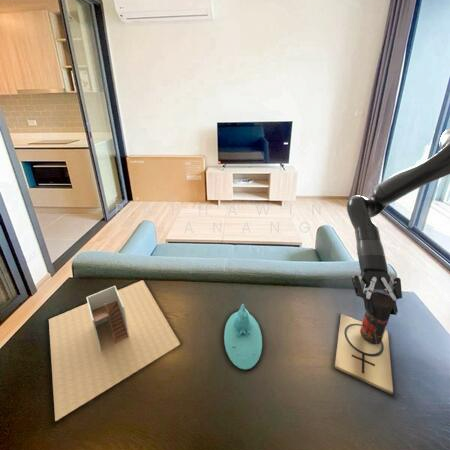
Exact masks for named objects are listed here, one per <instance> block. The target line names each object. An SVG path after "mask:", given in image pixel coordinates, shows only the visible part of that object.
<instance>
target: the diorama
mask: <svg viewBox="0 0 450 450" xmlns="http://www.w3.org/2000/svg"><path fill="white" fill-rule="evenodd" d="M223 333H224V334H223V340H224V347H225V352H226V355H227V356H228V358H229V360H230V361H231V362H232V364H233V365H234V366H235V367H237V368H238V369H240V370H245V371H246V370H250V369H252V368H253V367H254V366H256V364H257V363H258V361H259V360H260V357H261V354H262V351H263V350H262V349H263V336H262V332H261V328H260V325H259V323H258V321H257V320H256V319H255V317H254V316H253V315H252V314H251V313H250V312H249V311H248V309H246V307H245V303H242V304H241V305H240V307H239V310H238V311H236V312H234V313H232V314H231V315H230V316H229V318H228V319H227V321H226V324H225V327H224V332H223Z"/></svg>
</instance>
